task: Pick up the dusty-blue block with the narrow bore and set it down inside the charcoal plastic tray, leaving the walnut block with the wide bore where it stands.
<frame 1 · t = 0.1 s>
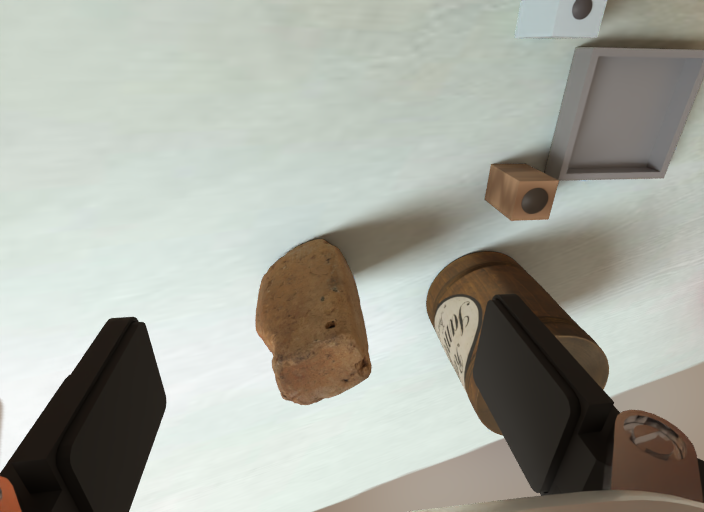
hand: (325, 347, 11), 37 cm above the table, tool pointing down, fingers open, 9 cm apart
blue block: (539, 13, 41), on the table
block: (307, 267, 52), on the table
walnut block: (504, 181, 50), on the table
tray: (613, 114, 47), on the table
wooden container: (474, 295, 58), on the table
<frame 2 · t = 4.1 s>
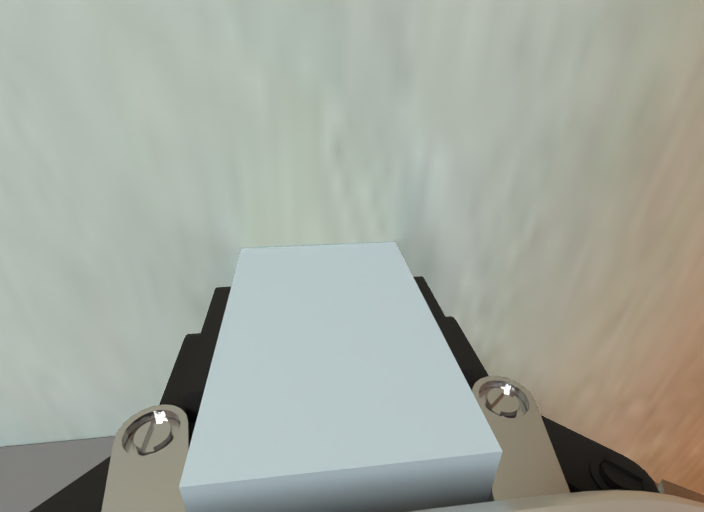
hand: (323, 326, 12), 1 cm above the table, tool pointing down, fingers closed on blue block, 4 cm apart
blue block: (321, 308, 13), on the table, touching gripper
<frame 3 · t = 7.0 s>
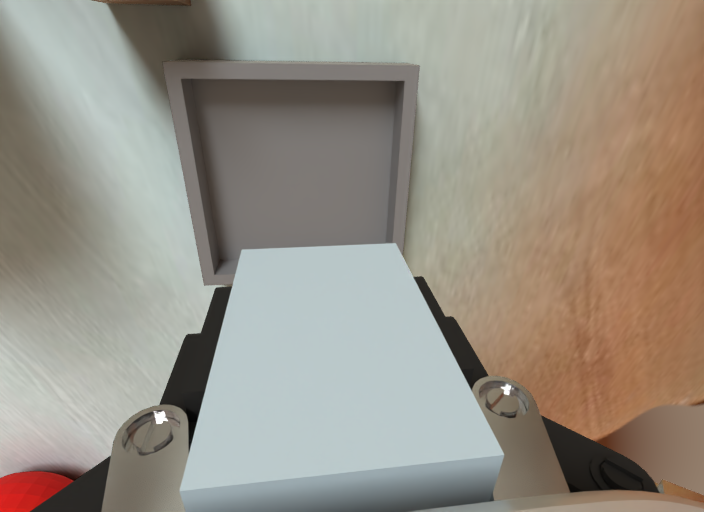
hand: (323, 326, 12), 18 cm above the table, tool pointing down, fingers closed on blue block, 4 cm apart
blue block: (322, 309, 13), point 17 cm above the table, touching gripper
tray: (300, 172, 28), on the table
tomato: (55, 486, 40), on the table
when the fingers open (4 cm above the table, at t = 10.1 s): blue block drops 2 cm, resting on tray.
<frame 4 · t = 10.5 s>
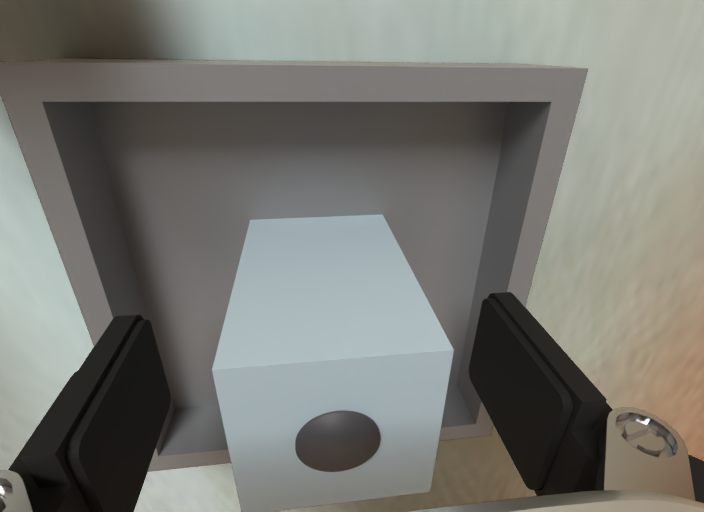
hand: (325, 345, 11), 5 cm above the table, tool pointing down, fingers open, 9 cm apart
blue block: (319, 274, 15), point 1 cm above the table, touching tray
tray: (316, 263, 15), on the table
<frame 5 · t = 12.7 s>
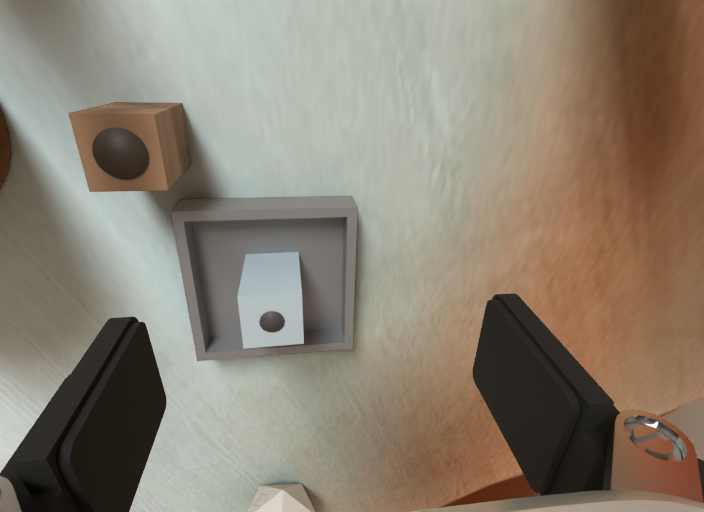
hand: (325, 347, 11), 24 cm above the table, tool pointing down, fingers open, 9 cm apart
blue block: (274, 275, 35), point 1 cm above the table, touching tray
die: (279, 490, 49), on the table
walnut block: (155, 134, 30), on the table
tray: (273, 271, 36), on the table
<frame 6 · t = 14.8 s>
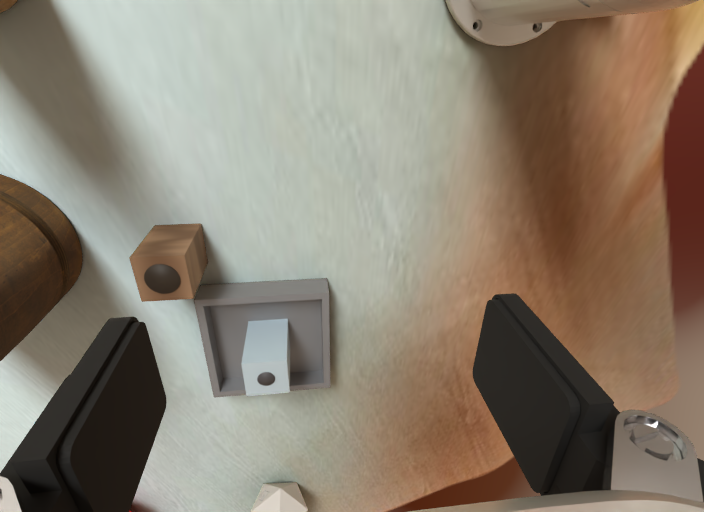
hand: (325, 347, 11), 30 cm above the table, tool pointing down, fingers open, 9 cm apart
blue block: (269, 335, 47), point 1 cm above the table, touching tray
die: (279, 487, 62), on the table
walnut block: (182, 244, 41), on the table
tray: (269, 331, 48), on the table
wooden container: (0, 241, 39), on the table
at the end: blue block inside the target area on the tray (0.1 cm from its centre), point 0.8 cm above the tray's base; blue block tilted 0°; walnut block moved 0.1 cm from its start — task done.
